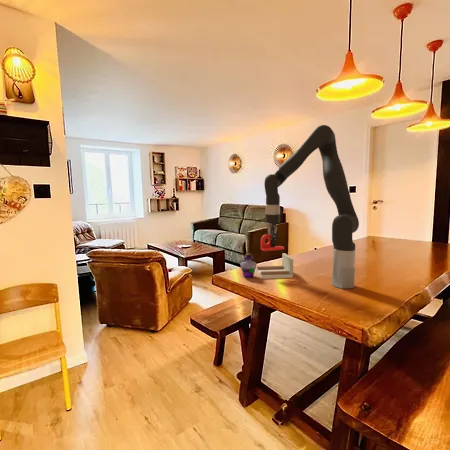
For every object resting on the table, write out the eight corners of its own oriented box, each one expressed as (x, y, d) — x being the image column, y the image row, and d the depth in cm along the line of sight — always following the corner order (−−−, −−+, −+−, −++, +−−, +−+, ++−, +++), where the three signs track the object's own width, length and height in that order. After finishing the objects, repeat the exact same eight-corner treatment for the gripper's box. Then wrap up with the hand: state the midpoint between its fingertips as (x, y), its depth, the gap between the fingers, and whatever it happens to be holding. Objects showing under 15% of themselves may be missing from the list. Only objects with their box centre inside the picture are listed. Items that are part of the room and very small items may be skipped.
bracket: (264, 251, 145) (264, 235, 144) (260, 249, 149) (260, 234, 148) (285, 249, 149) (285, 234, 149) (280, 247, 153) (280, 233, 153)
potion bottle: (250, 280, 142) (250, 256, 140) (236, 276, 148) (236, 253, 146) (260, 276, 148) (260, 253, 147) (247, 273, 154) (247, 251, 153)
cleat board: (292, 277, 145) (293, 259, 144) (261, 278, 144) (262, 260, 143) (284, 270, 159) (285, 253, 158) (256, 270, 158) (256, 254, 157)
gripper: (283, 214, 142) (282, 248, 144) (276, 212, 156) (275, 243, 158) (268, 214, 142) (268, 249, 144) (262, 212, 155) (262, 244, 157)
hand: (272, 246), depth 151 cm, fingers closed on bracket, 1 cm apart
